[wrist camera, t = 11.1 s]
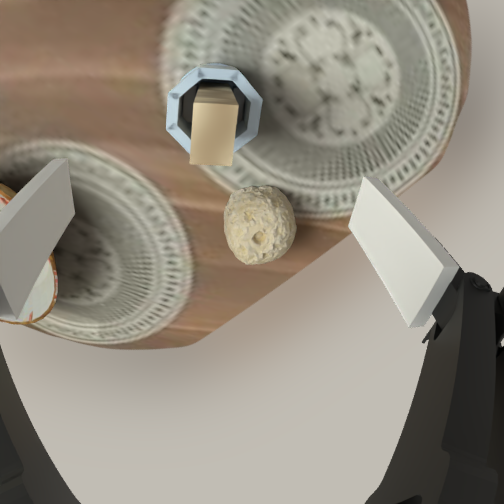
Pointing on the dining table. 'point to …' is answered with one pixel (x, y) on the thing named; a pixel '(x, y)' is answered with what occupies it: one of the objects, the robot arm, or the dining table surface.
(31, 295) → the bowl
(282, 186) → the dining table surface
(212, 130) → the tan bar
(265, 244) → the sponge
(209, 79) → the jar
